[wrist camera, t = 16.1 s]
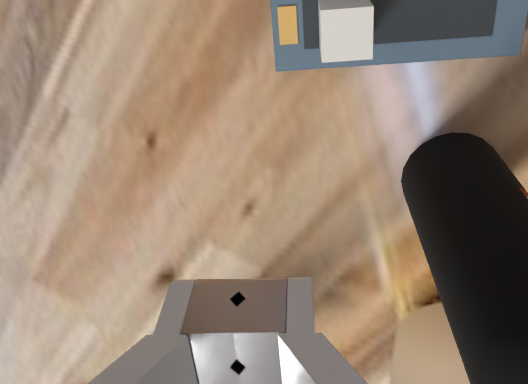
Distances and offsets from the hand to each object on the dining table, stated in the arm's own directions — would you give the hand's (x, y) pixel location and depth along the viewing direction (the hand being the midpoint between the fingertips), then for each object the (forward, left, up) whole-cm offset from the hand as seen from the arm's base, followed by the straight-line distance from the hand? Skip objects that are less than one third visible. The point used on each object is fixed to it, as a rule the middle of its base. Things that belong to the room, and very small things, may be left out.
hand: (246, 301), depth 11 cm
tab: (-4, 0, -25) cm, 26 cm away
